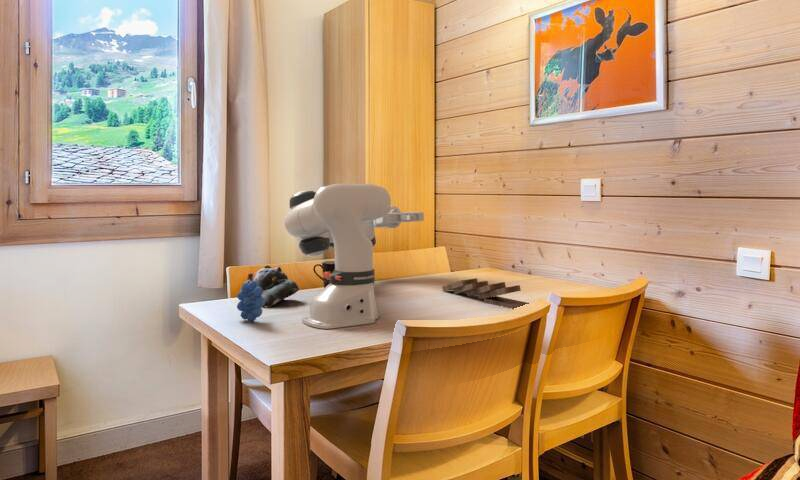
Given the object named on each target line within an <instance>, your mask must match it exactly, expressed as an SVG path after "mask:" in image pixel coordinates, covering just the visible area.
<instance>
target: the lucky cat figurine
mask: <svg viewBox="0 0 800 480" xmlns="http://www.w3.org/2000/svg"><path fill="white" fill-rule="evenodd" d="M250 281H255V282H256V283H257V285H258V286H259V287H261V288H262V289H263V293H262V295H261V296H262V297H263V298H264V300H265V303H264V305H263V306H271V307H273V306H275V305H276V304H277V303H279V302H281V301H283V300H285V299H286V298H289V297H291V296H293V295H294V294H296V293H298V292H299V291H300V287H299V285H298V284H297V282H296V281H294V280H292V279H289V277H288V275H287V274H286V273H285V272H284V271H283V270H282V268H281V267H280V266H277V267H275V268H273V267H272V266H270V265H265V266H264V268H260V269H259V270H257V271H256V272H255V273H248V274H247V279H246V281H245V282H244V283H246V282H248V283H249V282H250Z"/></svg>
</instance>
